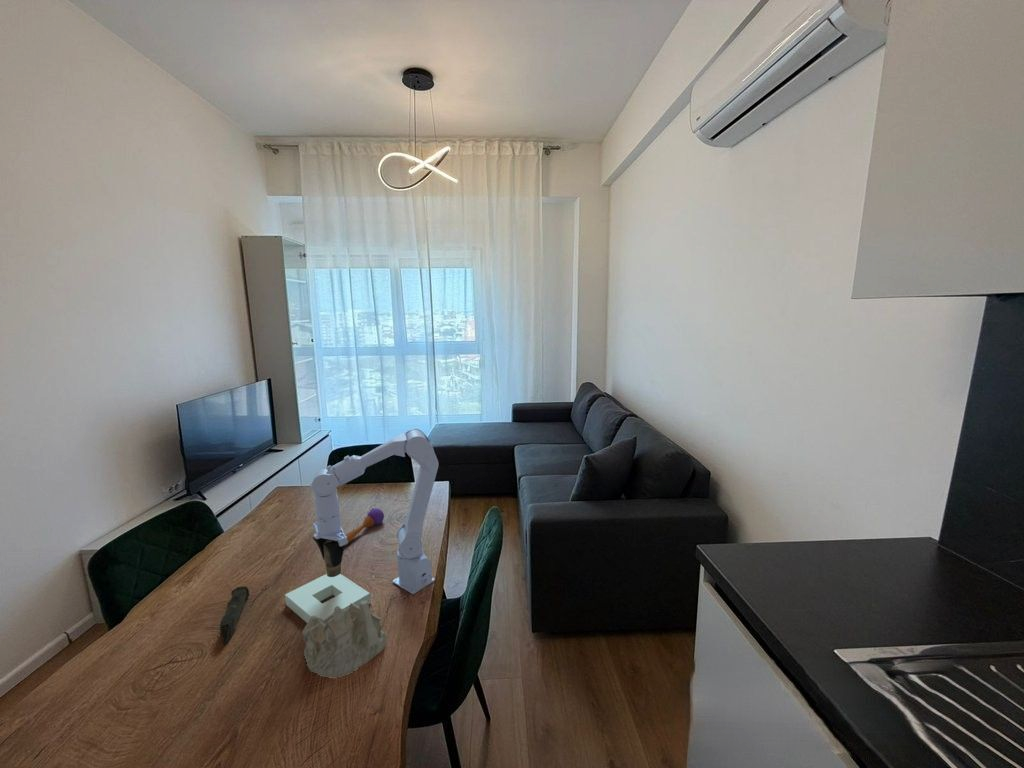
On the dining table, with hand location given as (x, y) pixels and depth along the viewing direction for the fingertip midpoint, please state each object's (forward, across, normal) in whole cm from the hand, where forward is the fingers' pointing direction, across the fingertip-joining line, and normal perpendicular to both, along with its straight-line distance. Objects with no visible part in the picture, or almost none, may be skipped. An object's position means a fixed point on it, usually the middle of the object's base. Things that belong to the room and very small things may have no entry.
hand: (332, 561), depth 115 cm
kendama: (+11, -27, +25) cm, 38 cm away
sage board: (+10, +1, -3) cm, 11 cm away
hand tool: (+11, -12, -20) cm, 26 cm away
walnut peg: (+3, 0, 0) cm, 4 cm away
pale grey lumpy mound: (+11, +20, -8) cm, 24 cm away
